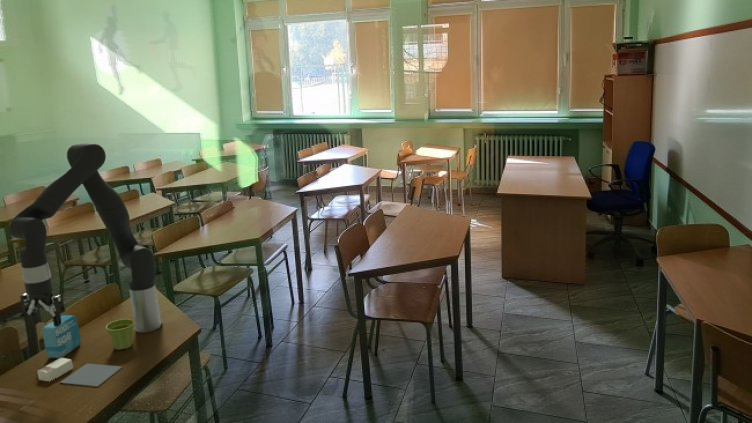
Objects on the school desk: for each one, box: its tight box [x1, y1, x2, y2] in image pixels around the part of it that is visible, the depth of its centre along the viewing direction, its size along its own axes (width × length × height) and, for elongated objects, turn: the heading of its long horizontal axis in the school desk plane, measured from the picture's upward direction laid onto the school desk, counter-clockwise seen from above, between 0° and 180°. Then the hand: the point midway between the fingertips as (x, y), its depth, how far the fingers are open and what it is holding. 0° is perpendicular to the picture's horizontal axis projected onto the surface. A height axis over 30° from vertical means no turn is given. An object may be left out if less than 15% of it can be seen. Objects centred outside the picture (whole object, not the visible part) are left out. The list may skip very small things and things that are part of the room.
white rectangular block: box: [36, 357, 74, 383], centre depth 185 cm, size 9×5×4 cm, turn 159°
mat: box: [59, 363, 123, 388], centre depth 183 cm, size 12×14×1 cm
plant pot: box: [105, 318, 135, 350], centre depth 201 cm, size 9×9×9 cm
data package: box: [41, 314, 82, 359], centre depth 199 cm, size 12×4×12 cm, turn 170°
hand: (46, 324), depth 181 cm, fingers open, 8 cm apart
